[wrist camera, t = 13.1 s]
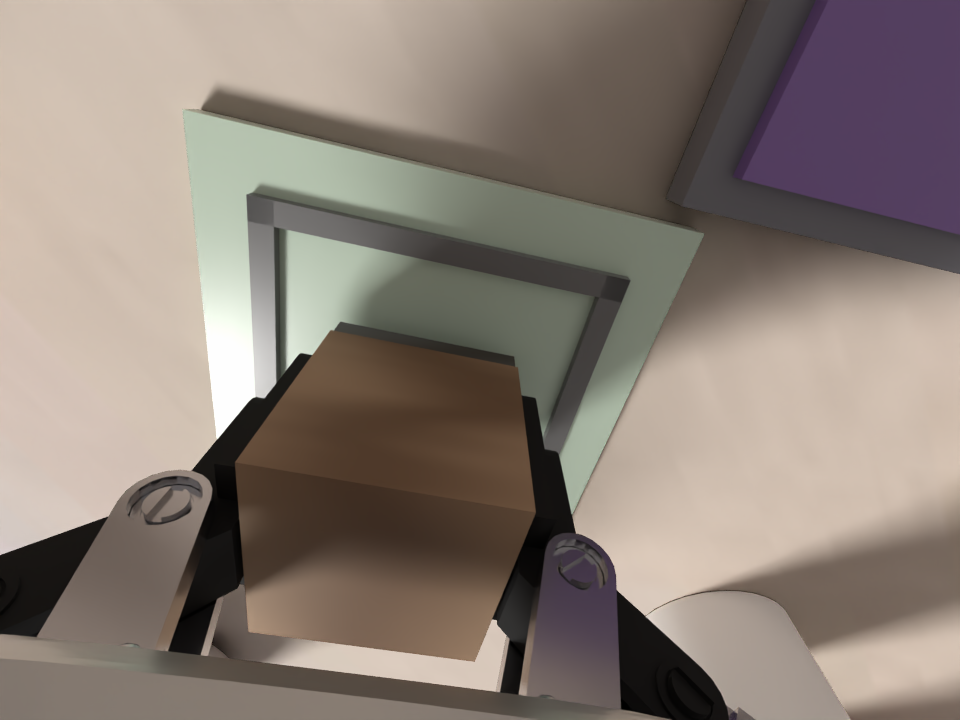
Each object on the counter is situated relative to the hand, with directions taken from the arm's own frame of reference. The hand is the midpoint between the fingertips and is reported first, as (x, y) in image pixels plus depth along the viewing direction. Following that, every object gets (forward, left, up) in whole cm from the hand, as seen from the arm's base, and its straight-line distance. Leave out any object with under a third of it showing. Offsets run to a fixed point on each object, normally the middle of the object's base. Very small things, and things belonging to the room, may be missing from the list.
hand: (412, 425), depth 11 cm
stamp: (0, 0, -1) cm, 1 cm away
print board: (0, 0, -2) cm, 2 cm away
